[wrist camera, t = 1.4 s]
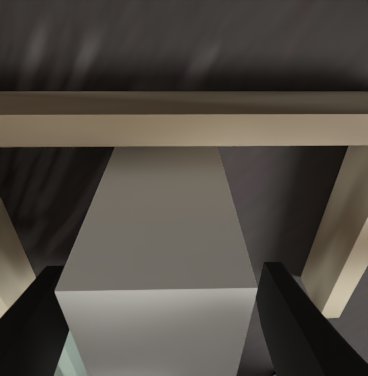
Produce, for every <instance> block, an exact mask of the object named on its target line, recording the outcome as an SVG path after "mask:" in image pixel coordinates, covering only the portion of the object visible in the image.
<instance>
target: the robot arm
mask: <svg viewBox="0 0 368 376" xmlns="http://www.w3.org/2000/svg"><path fill="white" fill-rule="evenodd" d="M63 269H64V266H46V267H45V268H44V270H43V271H42V272H41V273H40V274H39V275H38V276H37V277H36V279H35V280H34V281H33V282H32V283H31V284H30V285H29V287H28V288H27V289H26V290H25V291H24V292H23V293H22V295H21V296H20V297H19V298H18V299H17V300H16V301H15V302H14V304H13V305H12V306H11V307H10V308H9V309H8V310H7V311H6V312H5V313H4V314H3V315H2V317H1V318H0V376H54V374H55V371H56V368H57V365H58V362H59V359H60V357H61V354H62V351H63V348H64V345H65V342H66V339H67V336H68V333H69V330H70V329H69V327H68V324H67V322H66V319H65V317H64V314H63V312H62V309H61V307H60V304H59V302H58V299H57V297H56V294H55V292H54V291H55V288H56V286H57V284H58V281H59V279H60V277H61V274H62V272H63ZM256 301H257V307H258V312H259V317H260V322H261V327H262V330H263V333H264V337H265V340H266V343H267V347H268V350H269V353H270V356H271V360H272V363H273V366H274V369H275V373H276V374H275V375H273V376H368V364H367V363H366V362H365V360H364V359H363V358H362V357H361V356H360V355H359V354H358V353H357V352H356V351H355V350H354V349H353V348H352V347H351V346H350V345H349V344H348V343H347V341H346V340H345V339H344V338H343V337H342V336H341V335H340V334H339V333H338V332H337V330H336V329H335V328H334V327H333V326H332V325H331V324H330V322H329V321H328V320H327V319H326V318H325V317H324V315H323V314H322V313H321V312H320V311H319V309H318V308H317V307H316V306H315V305H314V303H313V302H312V301H311V300H310V298H309V297H308V296H307V295H306V293H305V292H304V291H303V290H302V288H301V287H300V286H299V285H298V283H297V282H296V281H295V279H294V278H293V277H292V275H291V274H290V273H289V271H288V270H287V269H286V268H285V266H284V265H283V264H282V263H281V262H264V265H263V269H262V273H261V277H260V281H259V286H258V290H257V294H256Z"/></svg>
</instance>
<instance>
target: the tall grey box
mask: <svg viewBox="0 0 368 376" xmlns="http://www.w3.org/2000/svg"><path fill="white" fill-rule="evenodd" d="M257 289H258V287H257V283H256V280H255V276H254V273H253V269H252V266H251V262H250V259H249V255H248V252H247V248H246V245H245V241H244V238H243V234H242V231H241V227H240V224H239V220H238V217H237V213H236V210H235V206H234V203H233V199H232V196H231V192H230V189H229V185H228V182H227V178H226V175H225V171H224V168H223V164H222V161H221V157H220V154H219V150H218V147H217V146H123V147H115V148H114V150H113V152H112V155H111V157H110V159H109V162H108V164H107V167H106V169H105V171H104V174H103V176H102V179H101V181H100V183H99V186H98V188H97V191H96V193H95V195H94V198H93V200H92V202H91V205H90V207H89V210H88V212H87V214H86V217H85V219H84V222H83V224H82V226H81V229H80V231H79V234H78V236H77V238H76V241H75V243H74V245H73V248H72V250H71V253H70V255H69V257H68V260H67V262H66V265H65V267H64V269H63V272H62V274H61V277H60V279H59V281H58V284H57V286H56V288H55V291H54V292H55V294H56V297H57V299H58V302H59V304H60V307H61V309H62V312H63V314H64V317H65V319H66V322H67V324H68V327H69V329H70V332H71V334H72V337H73V339H74V341H75V344H76V346H77V349H78V351H79V354H80V356H81V359H82V361H83V364H84V366H85V369H86V371H87V374H88V376H236V375H237V371H238V367H239V363H240V359H241V355H242V351H243V347H244V343H245V339H246V334H247V330H248V326H249V322H250V318H251V314H252V310H253V306H254V302H255V297H256V293H257Z"/></svg>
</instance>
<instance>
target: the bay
mask: <svg viewBox="0 0 368 376" xmlns="http://www.w3.org/2000/svg"><path fill="white" fill-rule="evenodd" d="M333 145H349V146H348V149H347V152H346V154H345V157H344V160H343V163H342V165H341V168H340V171H339V173H338V176H337V179H336V182H335V184H334V187H333V190H332V193H331V195H330V198H329V201H328V204H327V206H326V209H325V212H324V215H323V217H322V220H321V223H320V226H319V228H318V231H317V234H316V237H315V239H314V242H313V245H312V248H311V250H310V253H309V256H308V259H307V261H306V264H305V267H304V269H303V272H302V275H301V279H302V282H303V284H304V286H305V288H306V290H307V293H308V295H309V297H310V299H311V301H312V302H313V303H314V305H315V306H316V307H317V308H318V309H319V311H320V312H321V313H322V314H323V315H324V317H325V318H339V316H340V315H341V313H342V311H343V309H344V307H345V305H346V304H347V302H348V300H349V298H350V296H351V294H352V293H353V291H354V289H355V287H356V285H357V283H358V282H359V280H360V278H361V276H362V274H363V273H364V271H365V269H366V267H367V265H368V91H0V147H123V146H333ZM35 279H36V276H35V274H34V272H33V270H32V267H31V265H30V263H29V260H28V258H27V256H26V254H25V251H24V249H23V247H22V245H21V242H20V240H19V238H18V235H17V233H16V231H15V229H14V226H13V224H12V222H11V220H10V217H9V215H8V213H7V210H6V208H5V206H4V204H3V201H2V199H1V197H0V318H1V317H2V315H3V314H4V313H5V312H6V311H7V310H8V309H9V308H10V307H11V306H12V305H13V304H14V302H15V301H16V300H17V299H18V298H19V297H20V296H21V295H22V293H23V292H24V291H25V290H26V289H27V288H28V287H29V285H30V284H31V283H32V282H33V281H34V280H35Z"/></svg>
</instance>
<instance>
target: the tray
mask: <svg viewBox="0 0 368 376" xmlns="http://www.w3.org/2000/svg"><path fill="white" fill-rule="evenodd" d="M54 376H88V374H87V371H86V369H85V366H84V364H83V361H82V359H81V356H80V354H79V351H78V349H77V346H76V344H75V341H74V339H73V337H72V334H71V332H70V330H69V333H68V336H67V339H66V342H65V345H64V348H63V351H62V354H61V357H60V359H59V362H58V365H57V368H56V371H55V374H54Z"/></svg>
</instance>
